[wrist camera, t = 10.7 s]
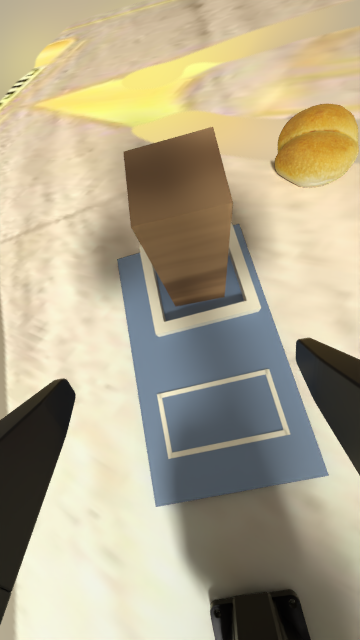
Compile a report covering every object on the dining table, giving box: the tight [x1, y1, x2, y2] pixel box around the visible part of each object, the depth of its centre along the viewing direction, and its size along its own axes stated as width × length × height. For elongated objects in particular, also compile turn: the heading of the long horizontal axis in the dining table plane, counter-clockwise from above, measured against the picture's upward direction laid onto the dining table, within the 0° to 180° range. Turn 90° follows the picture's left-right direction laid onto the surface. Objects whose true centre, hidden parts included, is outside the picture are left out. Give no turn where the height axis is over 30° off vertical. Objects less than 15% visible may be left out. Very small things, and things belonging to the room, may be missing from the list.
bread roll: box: [275, 104, 359, 188], centre depth 24 cm, size 8×9×4 cm
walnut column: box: [124, 127, 233, 306], centre depth 18 cm, size 5×5×12 cm
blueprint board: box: [117, 222, 329, 507], centre depth 21 cm, size 24×14×2 cm, turn 13°
